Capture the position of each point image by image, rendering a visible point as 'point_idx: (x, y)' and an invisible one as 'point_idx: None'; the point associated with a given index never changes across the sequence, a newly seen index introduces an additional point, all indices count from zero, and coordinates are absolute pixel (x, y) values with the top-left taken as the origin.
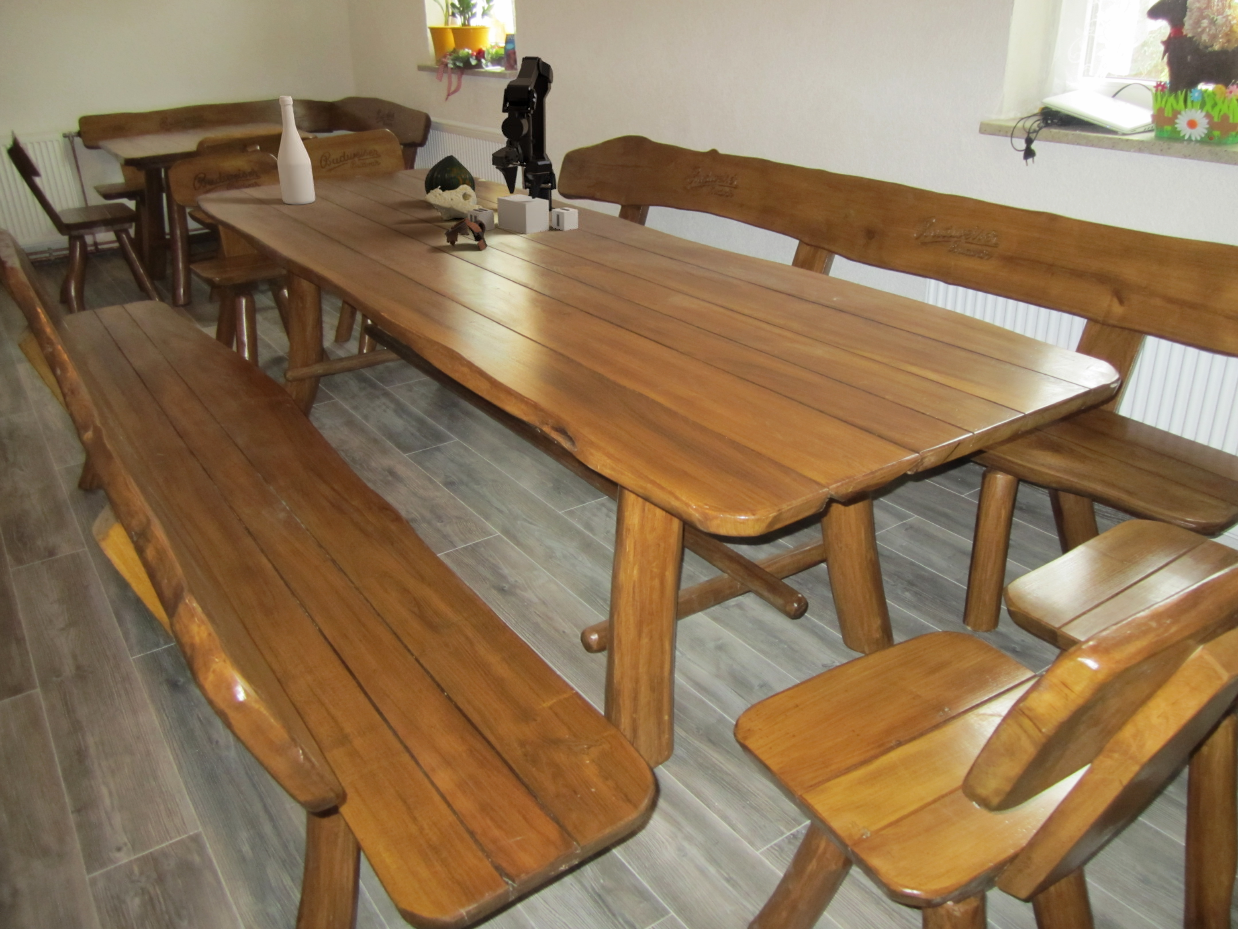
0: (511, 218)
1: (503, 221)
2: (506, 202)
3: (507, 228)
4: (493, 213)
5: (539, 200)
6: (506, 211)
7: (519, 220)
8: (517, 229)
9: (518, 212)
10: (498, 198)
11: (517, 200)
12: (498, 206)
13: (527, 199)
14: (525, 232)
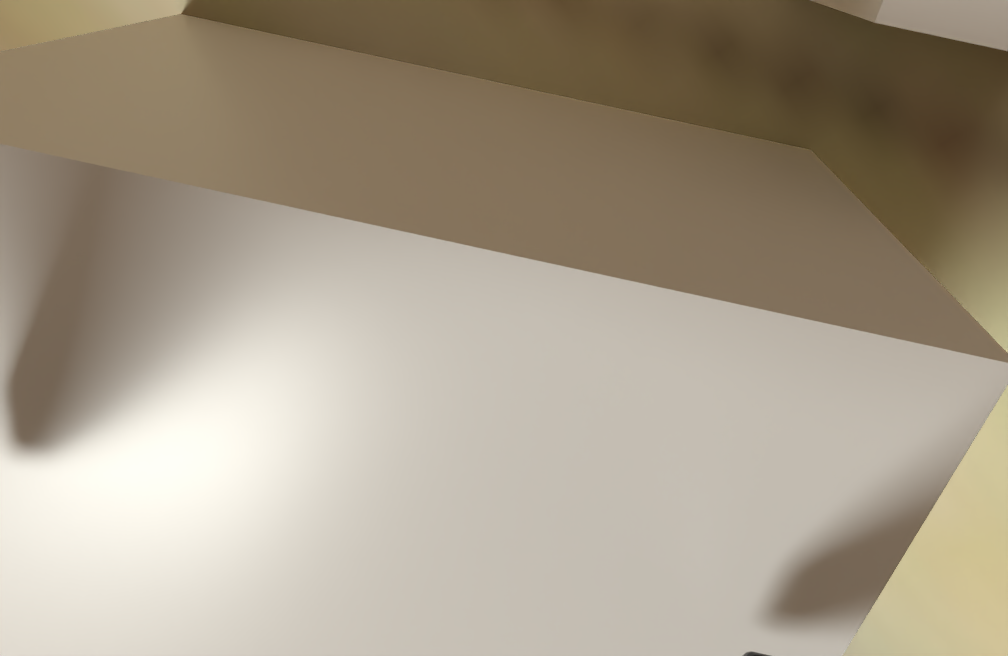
0: (480, 122)
1: (695, 144)
2: (607, 245)
3: (601, 107)
4: (859, 2)
5: (16, 576)
6: (617, 182)
7: (261, 74)
8: (367, 60)
9: (224, 108)
10: (952, 344)
11: (316, 354)
12: (889, 259)
13: (250, 544)
14: (191, 18)
